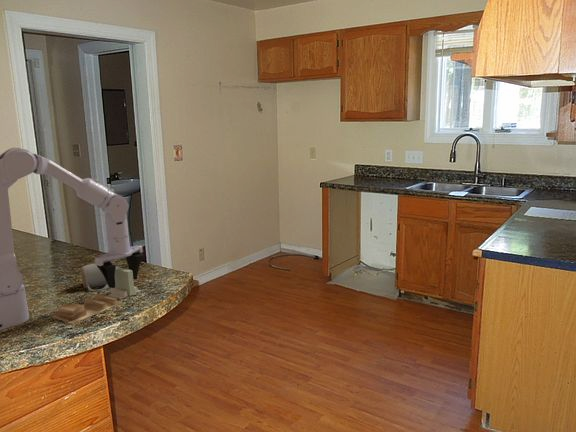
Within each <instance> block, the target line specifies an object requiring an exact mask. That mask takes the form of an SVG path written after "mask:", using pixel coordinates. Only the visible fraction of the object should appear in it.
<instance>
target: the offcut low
mask: <svg viewBox="0 0 576 432" xmlns="http://www.w3.org/2000/svg"><path fill="white" fill-rule="evenodd" d="M56 314H58V316H59V317H62V318H65V319H68V320H71V321H73V320H76V319H78V318H80V317H83V316H85V315H87V314H86V310H83V311H81V312H79V313H77V314H75V315H69V314H64V313H59V310H58V311H57V313H56Z"/></svg>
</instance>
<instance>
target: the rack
mask: <svg viewBox="0 0 576 432" xmlns="http://www.w3.org/2000/svg"><path fill="white" fill-rule="evenodd" d="M94 298H95V299H94ZM94 298H90V297H85V298H83V303H81V304H80V305H84V310H86V314H87V315H85V316H83V317H80V318H78V319H76V320H73V321H71V320H68V319H65V318H62V317H59V316H58V313H56V314H54V315H51V316H50V317H51V318H53V319H56V320H60V321H63V322H65V323H69V324H71V325H73V324H76V323H77V322H80V321H83V320H85V319H88V318H89V317H92V316H94V315H97V314H99V313H101V312H103V311H106V310H108V309H110V308H113V307H116V306H118V305H120V304H122V303H123V302H122V301H118V298H115V297H112V296H108V295H105V294H102V293H96V294H94Z"/></svg>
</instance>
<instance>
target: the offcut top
mask: <svg viewBox="0 0 576 432" xmlns="http://www.w3.org/2000/svg"><path fill="white" fill-rule="evenodd" d="M57 309H58V311H59V313H64V314H69V315H75V314H77V313H79V312H81V311H83V310H84V305H81V304H77V303H74V302H73V303H72V302H69V303H66V304H64V305H62V306H60V307H58V308H57Z"/></svg>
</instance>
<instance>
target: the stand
mask: <svg viewBox="0 0 576 432" xmlns="http://www.w3.org/2000/svg"><path fill="white" fill-rule="evenodd" d="M134 289H135V294H136V293H139V292H142V290H141V289H140V290H139V289H138V286H135V285H134ZM109 290H110V293H109V294H107V296H109V297H113V298H117V299H120V300H123V299H125V298H127V297H130V296H129V295H127V291H125V290H120V289H116V288H109Z"/></svg>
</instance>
